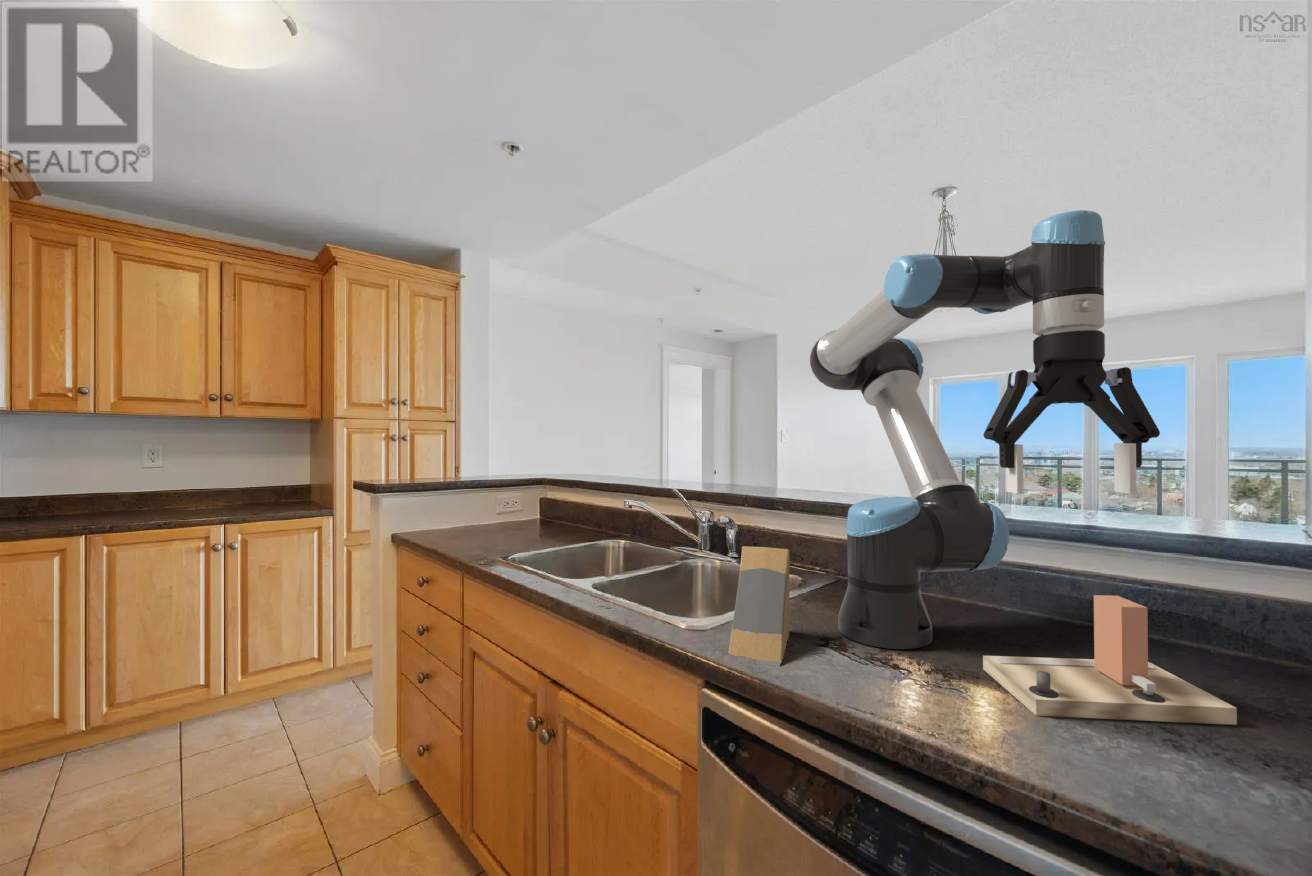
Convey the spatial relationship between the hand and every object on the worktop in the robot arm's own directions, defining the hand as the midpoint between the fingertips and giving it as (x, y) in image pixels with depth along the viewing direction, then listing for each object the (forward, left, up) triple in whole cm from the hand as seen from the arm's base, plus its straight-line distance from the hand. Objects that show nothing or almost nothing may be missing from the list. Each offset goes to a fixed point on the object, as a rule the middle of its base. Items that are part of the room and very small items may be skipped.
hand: (1069, 493), depth 70 cm
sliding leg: (+6, -1, -24) cm, 25 cm away
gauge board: (+3, 0, -27) cm, 27 cm away
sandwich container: (-40, +13, -27) cm, 50 cm away
